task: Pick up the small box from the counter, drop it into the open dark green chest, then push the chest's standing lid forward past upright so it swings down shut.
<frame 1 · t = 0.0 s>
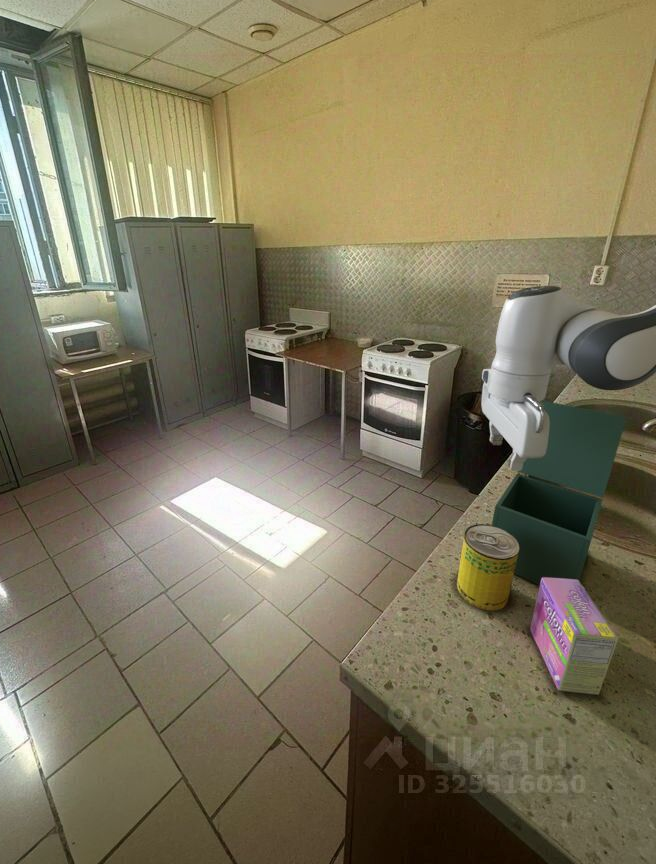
hand: (504, 455, 72), 26 cm above the counter, tool pointing down, fingers open, 8 cm apart
yellow tin can: (481, 591, 76), on the counter
lid: (568, 446, 83), point 22 cm above the counter, hinge at 109.7°
chest: (536, 557, 83), on the counter
box: (560, 660, 63), on the counter
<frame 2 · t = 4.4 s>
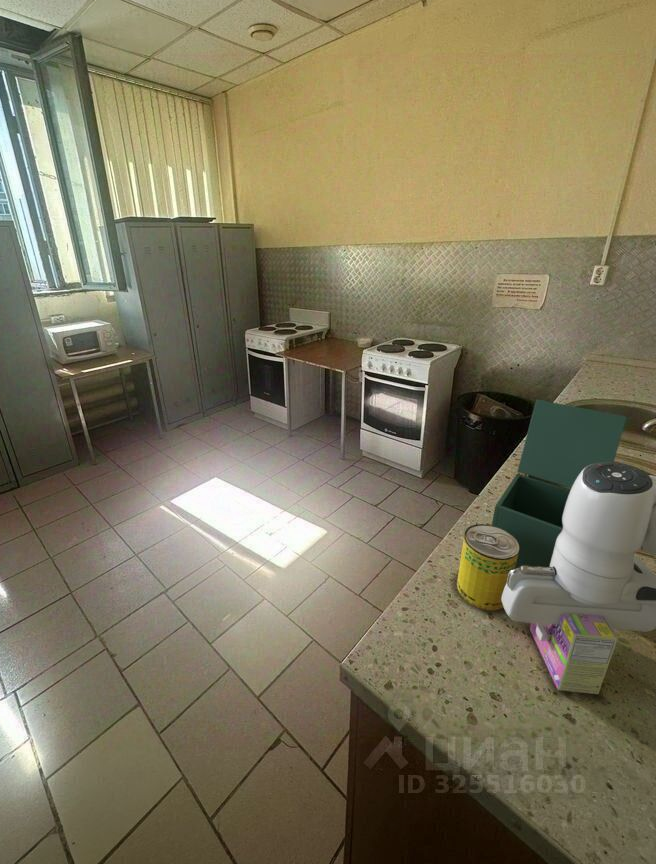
hand: (566, 639, 61), 5 cm above the counter, tool pointing down, fingers closed on box, 5 cm apart
lid: (568, 446, 83), point 22 cm above the counter, hinge at 110.1°
box: (560, 660, 63), on the counter, touching gripper
everything else where it was.
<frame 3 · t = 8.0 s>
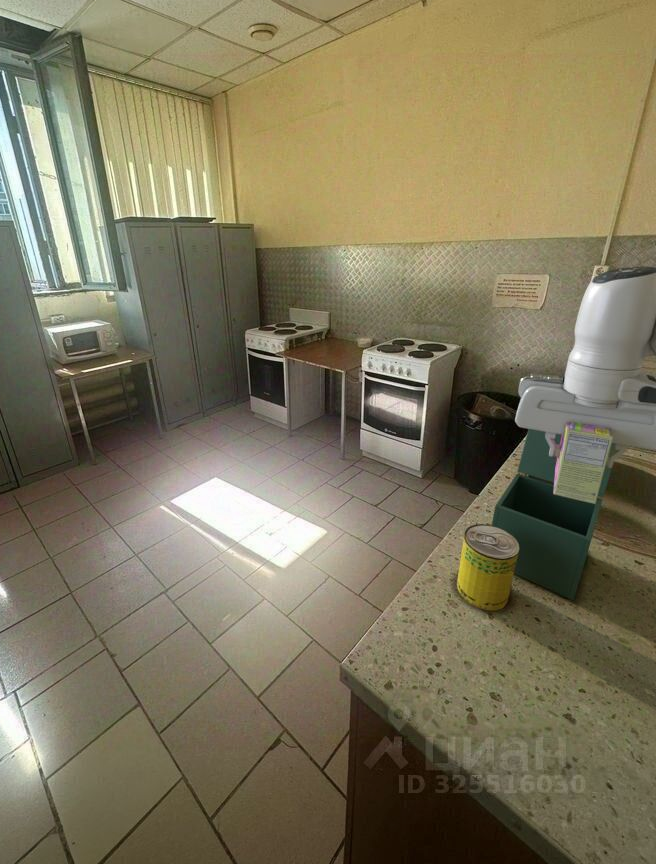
hand: (579, 460, 64), 29 cm above the counter, tool pointing down, fingers closed on box, 5 cm apart
box: (572, 485, 66), point 24 cm above the counter, touching gripper
everything else where it was.
when the fingers open (18 cm above the counter, at t = 11.6 s): box drops 13 cm, resting on chest.
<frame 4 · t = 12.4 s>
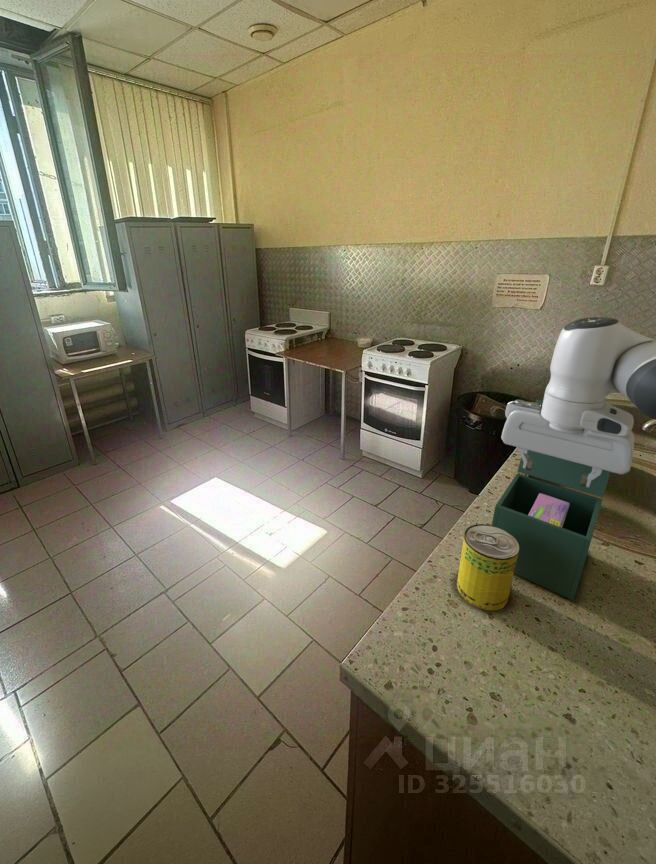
hand: (555, 476, 75), 20 cm above the counter, tool pointing down, fingers open, 8 cm apart
box: (535, 556, 82), point 1 cm above the counter, touching chest
everything else where it was.
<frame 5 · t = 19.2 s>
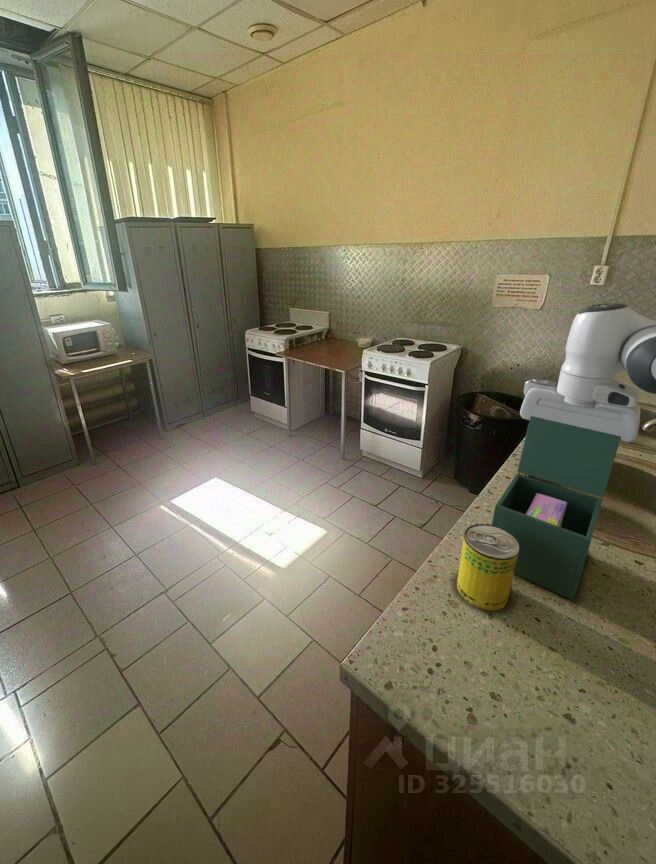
hand: (568, 447, 84), 21 cm above the counter, tool pointing down, fingers closed
lid: (567, 446, 82), point 22 cm above the counter, hinge at 102.8°, touching gripper
everything else where it was.
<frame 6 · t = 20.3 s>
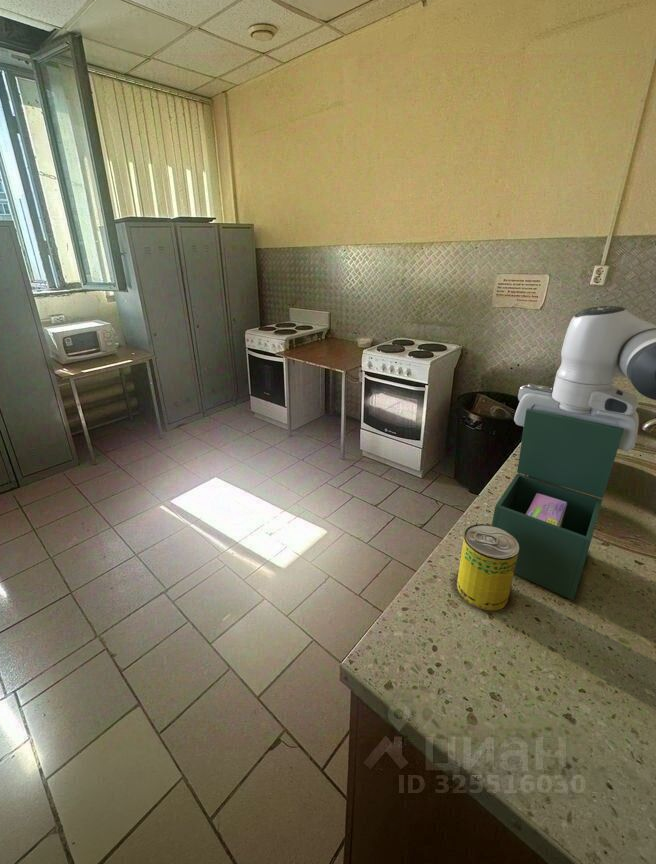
hand: (564, 455, 81), 21 cm above the counter, tool pointing down, fingers closed
lid: (564, 452, 79), point 22 cm above the counter, hinge at 78.5°
everything else where it was.
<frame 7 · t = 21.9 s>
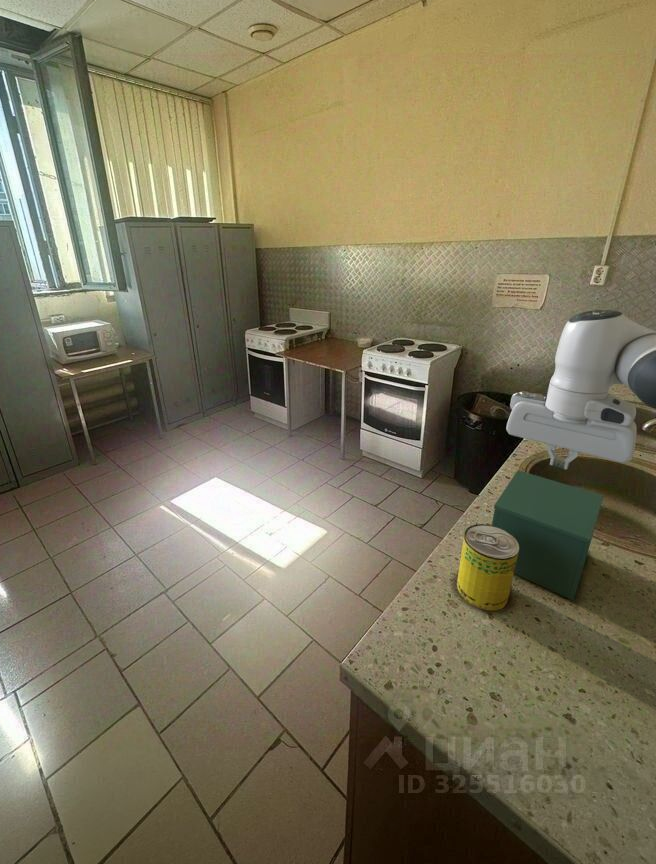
hand: (558, 466, 77), 21 cm above the counter, tool pointing down, fingers closed
lid: (549, 501, 78), point 14 cm above the counter, hinge at -0.1°
everything else where it was.
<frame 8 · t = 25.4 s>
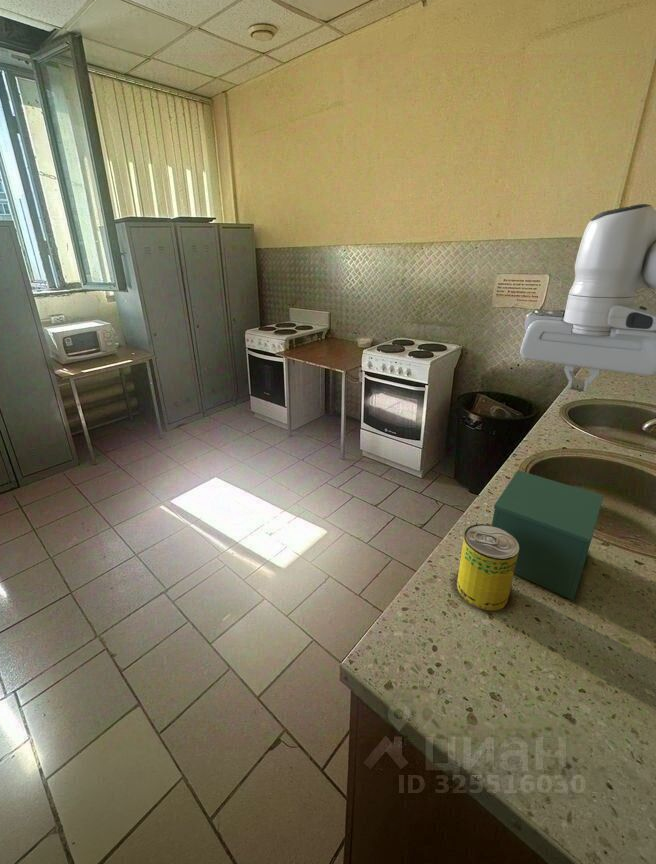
hand: (577, 389, 71), 37 cm above the counter, tool pointing down, fingers closed
nothing on the counter moved.
at the end: box inside the target area in the chest (0.7 cm from its centre), point 0.6 cm above the chest's base; lid at +0° (first picture: +110°) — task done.
